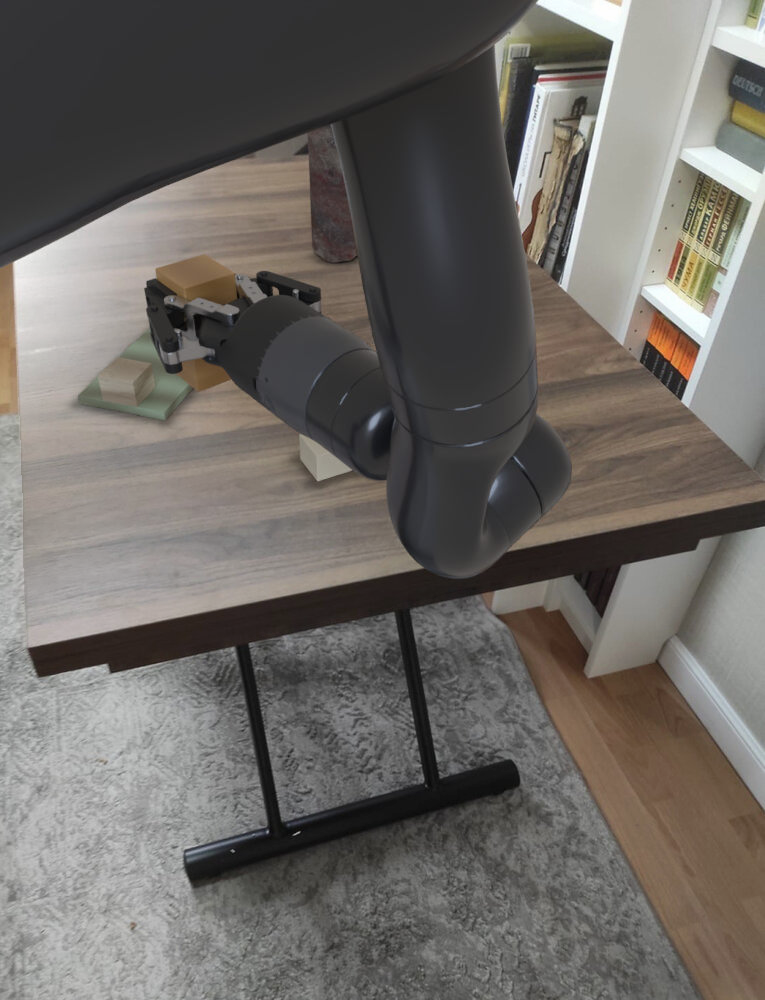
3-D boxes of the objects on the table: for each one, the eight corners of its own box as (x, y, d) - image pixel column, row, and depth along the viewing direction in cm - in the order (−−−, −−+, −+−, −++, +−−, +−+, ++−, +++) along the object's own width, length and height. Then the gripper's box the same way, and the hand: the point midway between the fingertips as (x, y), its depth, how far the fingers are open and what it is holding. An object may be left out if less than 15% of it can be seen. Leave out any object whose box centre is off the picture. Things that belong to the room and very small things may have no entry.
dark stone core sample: (301, 248, 120) (295, 99, 107) (345, 238, 123) (344, 91, 110) (329, 268, 115) (326, 114, 102) (373, 256, 118) (376, 106, 106)
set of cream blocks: (317, 481, 79) (316, 456, 77) (299, 459, 82) (298, 434, 80) (442, 442, 84) (444, 418, 82) (422, 422, 87) (424, 398, 85)
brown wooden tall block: (198, 392, 67) (184, 288, 61) (171, 370, 69) (154, 268, 64) (244, 374, 69) (235, 272, 63) (216, 353, 72) (204, 253, 66)
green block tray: (165, 420, 86) (159, 387, 84) (79, 403, 88) (71, 371, 86) (262, 309, 105) (260, 279, 103) (189, 297, 107) (186, 268, 105)
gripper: (388, 290, 58) (251, 215, 68) (209, 354, 51) (85, 260, 60) (385, 382, 63) (258, 300, 72) (222, 454, 55) (105, 351, 65)
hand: (180, 282), depth 66 cm, fingers closed on brown wooden tall block, 4 cm apart
